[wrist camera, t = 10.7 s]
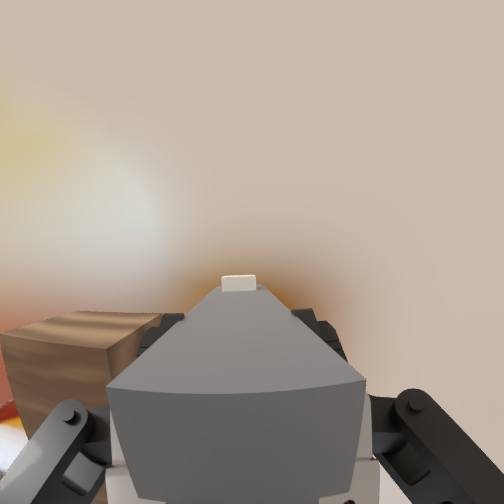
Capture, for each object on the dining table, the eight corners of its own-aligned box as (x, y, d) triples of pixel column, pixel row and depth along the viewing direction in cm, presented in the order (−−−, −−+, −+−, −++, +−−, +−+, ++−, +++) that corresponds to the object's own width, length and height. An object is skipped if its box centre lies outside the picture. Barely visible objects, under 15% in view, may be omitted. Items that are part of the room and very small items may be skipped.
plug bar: (339, 527, 4) (369, 316, 4) (154, 533, 3) (95, 325, 4) (263, 328, 26) (261, 273, 26) (219, 329, 25) (216, 275, 26)
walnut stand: (185, 577, 14) (106, 348, 15) (101, 559, 14) (-2, 333, 15) (195, 511, 28) (161, 313, 29) (127, 501, 28) (77, 310, 29)
